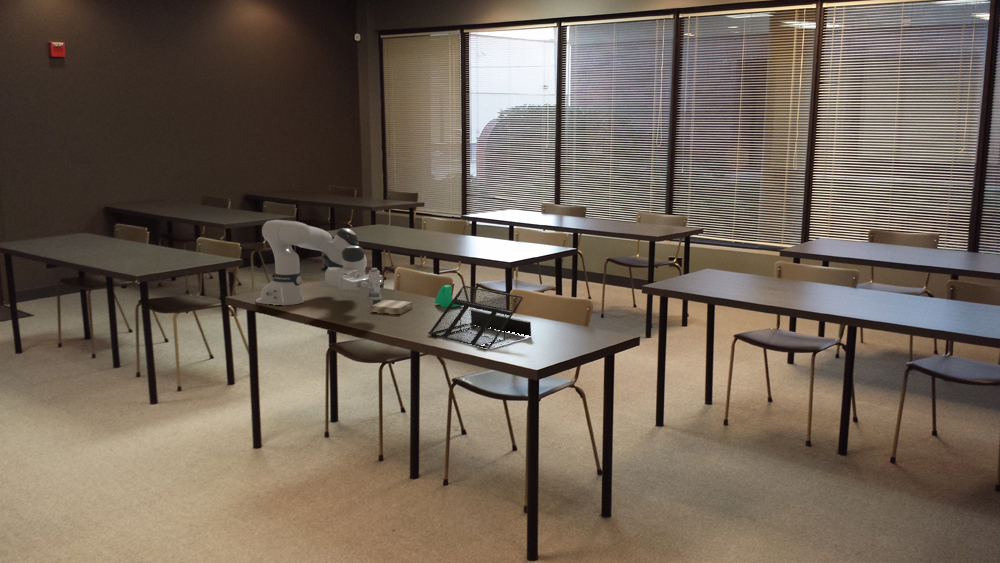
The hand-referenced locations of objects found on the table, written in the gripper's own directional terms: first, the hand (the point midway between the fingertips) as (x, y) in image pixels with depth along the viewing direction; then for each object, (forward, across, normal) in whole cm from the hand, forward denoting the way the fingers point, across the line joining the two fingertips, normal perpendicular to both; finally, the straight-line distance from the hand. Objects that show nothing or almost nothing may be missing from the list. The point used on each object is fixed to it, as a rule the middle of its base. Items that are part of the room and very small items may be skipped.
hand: (375, 283), depth 354 cm
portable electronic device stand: (+51, -7, -17) cm, 55 cm away
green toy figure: (+6, -43, -17) cm, 46 cm away
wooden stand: (-8, -19, -16) cm, 26 cm away
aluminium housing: (-1, 0, -6) cm, 7 cm away
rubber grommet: (-21, -22, -16) cm, 34 cm away
